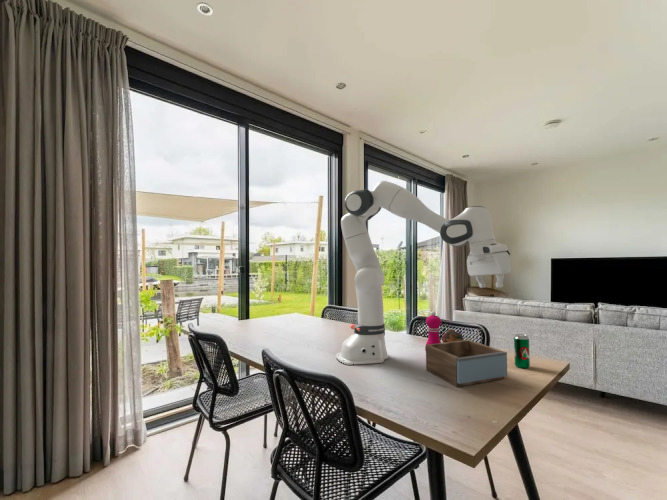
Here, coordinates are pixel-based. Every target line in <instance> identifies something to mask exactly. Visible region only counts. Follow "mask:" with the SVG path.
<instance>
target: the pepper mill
mask: <svg viewBox="0 0 667 500" xmlns="http://www.w3.org/2000/svg"><path fill="white" fill-rule="evenodd" d="M425 324H426V325H427V327H426V328H427V331H428V337H427V338H428V339H427V340H426V343H425V347H424V351H425V352H426V345H429V344H437V343H442V340H441V338H440V331H441V327H440V326H441V325H442V320H441V318H440V317H439V316H438V315H436V312H435V311H431V313H430V315H428V316H427V317H426V319H425Z"/></svg>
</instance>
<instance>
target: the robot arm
mask: <svg viewBox="0 0 667 500" xmlns="http://www.w3.org/2000/svg"><path fill="white" fill-rule="evenodd" d="M344 207H345V210H346V211H347V213H346V214H344V215H343V216H342V217H341V219H340V226H341V227H340V228H341V232H342V233H341V234H342V237H343V240H344V244H345V247H346V250H347V252H348V256H349V259H350V260H351V262H352V265H353V266H354V268H355V271H356V272H355V275H354V280H353V281H354V287H355V296H356V302H357V303H356V304H357V322H358V323H356V325H355V323H354V324H353V323H351V324H350V325H349V328H350V329H352V330H353V331H354V332H353V333H352V334H351V335H349V336H348V338H346V339H345V340H344V341H343V342H342V343H341V349H340V352H337V353H336V355H335V359H336V358H337V359H338V360H339V361H340V362H339V361H338V360H337V359H336V360H337V361H338V362H339V363H341V362H342V364H343V363H344V364H343V365H347V366H350V365H353V364H354V365H367V364H383V363H384V362H385V360H387V359H388V358H389V355H388V350H387V345H386V340H385V334H386V328H385V323H384V303H383V295H382V285H383V284H384V282H385V274H384V271H383V269H382V267H381V264H380V262H379V259H378V257H377V254H376V251H375V250H374V246H373V242H372V240H371V236H370V235H369V231H368V228H367V224H366V221H369V220H371V219H372V218H374V216H376V215H377V214H379V212H380V211H382V210H381V209H384V210H386V211H387V212H390V213H391V214H393V215H395V216H397V217H400V218H401V219H402V218H403V219H406V220H409V221H414V222H417V223H420V224H422V225H425V226H426V227H428V228H430V229H432V230H434V231H435V232H437V233H439V234H440V237H441V240H442V241H444V242H445V243H446V244H448V245H450V246H452V247H455V248H460V247H464V246H466V245H468V244H469V250H470V252H469V253H468V255H467V259H466V267H467V274H468V275H469V277H475V280H476V281H477V283H478V287H479V288H480V289H483V288H486V287H487V285H486V284H487V283H486V282H485V281H484V279H483V278H484V277H483V276H493V275H494V276H495V278H496V282H495V288H496V289H498V288H503V287H504V283H503V282H504V279H505V274H510V273H511V271H512V263H511V258H510V255H509V253H508V252H507V251H508V250H509V248H508V245H507V244H504V243H501V242H497V240H496V236H495V235H494V225H493V221H492V216H491V213H490V211H489V209H488V208H486V207H485V206H482V205H472V206H468V207H465V209H464V210H463V211H462V212H461V213H460V214H458V215H456V216H455V217H453V218H451V219H447V218H446V217H444V216H442V215H440V214H438V213H436V212H434V211H433V210H432V209H430V208H429V207H427V206H426V204H424V203H423V201H422V200H420V199H419V197H418V196H417V195H415V194H414V193H412V192H411V191H410V190H409V189H407V188H404V187H403V186H401V185H398V184H396V183H394V182H390V181H387V180H381V181H380V182H378V183H376V184H375V186H374V187H373V189H372V190H369V189H356V190H353V191H351V192H349V193H347V195H346V196H345V199H344Z"/></svg>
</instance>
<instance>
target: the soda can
mask: <svg viewBox="0 0 667 500" xmlns="http://www.w3.org/2000/svg"><path fill="white" fill-rule="evenodd" d="M513 352H514V354H513V355H514V365H515V366H516V368H518V369H523V370H524V369H529V368H530V367H531V359H530V353H531V351H530V338H529V336H528V335H527V334H522V333H517V334H514V336H513Z"/></svg>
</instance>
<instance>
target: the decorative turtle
mask: <svg viewBox="0 0 667 500" xmlns="http://www.w3.org/2000/svg"><path fill="white" fill-rule="evenodd" d="M462 340H465V338H464V337H463V335H462V334H461V333H460V332H458V331H455V330H454V329H452V328H450V329H448V330H447V331H446V332H445V333H444V334H442V337H441V342H442V343H445V342H454V341H462Z"/></svg>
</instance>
